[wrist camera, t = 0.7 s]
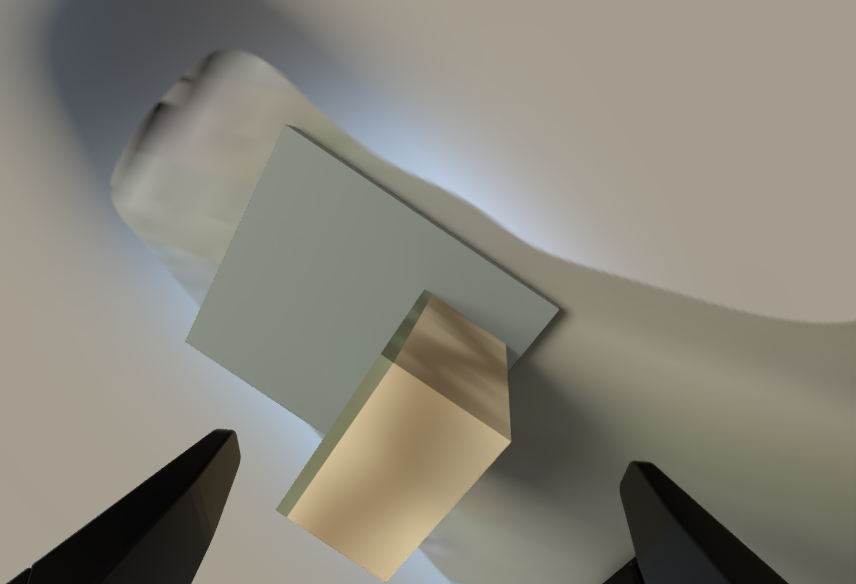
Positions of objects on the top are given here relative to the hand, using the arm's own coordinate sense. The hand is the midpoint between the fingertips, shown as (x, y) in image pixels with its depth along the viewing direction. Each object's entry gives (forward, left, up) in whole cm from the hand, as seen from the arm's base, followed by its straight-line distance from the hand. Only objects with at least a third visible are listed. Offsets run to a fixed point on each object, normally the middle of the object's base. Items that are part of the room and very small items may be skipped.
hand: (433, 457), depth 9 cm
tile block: (0, +4, -12) cm, 12 cm away
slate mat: (+4, +4, -12) cm, 14 cm away
